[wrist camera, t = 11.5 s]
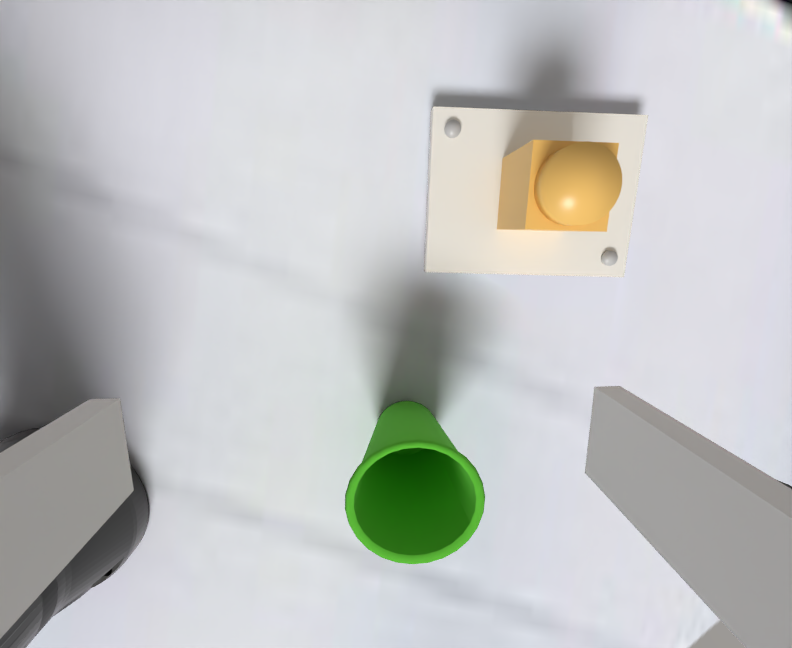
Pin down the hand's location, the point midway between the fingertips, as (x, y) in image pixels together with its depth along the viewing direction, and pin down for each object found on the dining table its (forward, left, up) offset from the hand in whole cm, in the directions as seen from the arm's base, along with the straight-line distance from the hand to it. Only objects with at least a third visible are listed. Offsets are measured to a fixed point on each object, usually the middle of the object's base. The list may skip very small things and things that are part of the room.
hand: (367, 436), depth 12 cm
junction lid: (+12, +9, -24) cm, 28 cm away
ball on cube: (+12, +9, -22) cm, 26 cm away
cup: (+3, -11, -24) cm, 27 cm away
